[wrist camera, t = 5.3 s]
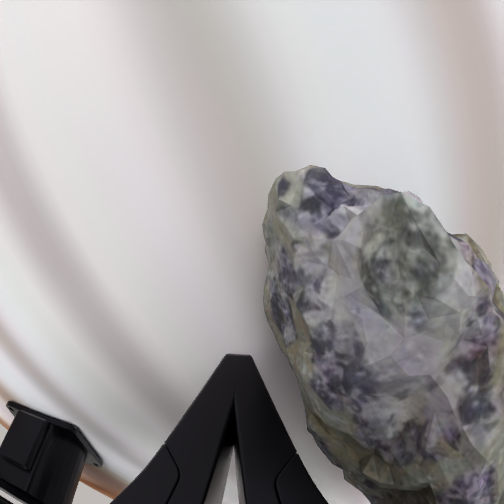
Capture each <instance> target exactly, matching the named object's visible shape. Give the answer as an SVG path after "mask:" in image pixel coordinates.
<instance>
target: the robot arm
mask: <svg viewBox="0 0 504 504" xmlns="http://www.w3.org/2000/svg"><path fill="white" fill-rule="evenodd" d="M6 406H7V408H8V409H9V410H10V412H11V413H12V414H13V415H14V417H15V418H14V420H13V422H12V424H11V426H10V428H9V430H8V432H7V434H6V436H5V438H4V440H3V442H2V444H1V446H0V490H2V491H4V492H5V493H7V494H8V495H10V496H12V497H13V498H15V499H16V500H18V501H20V502H21V503H23V504H72V502H73V498H74V495H75V492H76V488H77V485H78V482H79V479H80V476H81V473H82V470H83V467H84V464H85V463H87V464H90V465H93V466H96V467H102V465H103V462H102V461H101V460H100V458H99V457H98V456H97V455H96V454H95V452H94V451H93V450H92V448H91V447H90V446H89V445H88V443H87V442H86V441H85V439H84V438H83V437H82V435H81V434H80V433H79V431H78V430H77V429H76V428H75V427H74V426H72V425H70V424H67V423H64V422H61V421H58V420H56V419H53V418H50V417H47V416H45V415H42V414H39V413H37V412H34V411H32V410H29V409H27V408H25V407H22V406H20V405H17V404H15V403H13V402H11V401H8V403H7V404H6ZM233 447H234V452H235V464H236V475H237V486H238V497H239V504H328V502H327V501H326V500H325V498H324V497H323V496H322V494H321V493H320V491H319V490H318V488H317V487H316V485H315V484H314V482H313V481H312V479H311V477H310V475H309V474H308V472H307V470H306V468H305V466H304V465H303V463H302V461H301V459H300V457H299V455H298V454H297V453H296V452H297V451H296V449H295V447H294V445H293V443H292V441H291V439H290V437H289V435H288V433H287V431H286V429H285V427H284V424H283V422H282V420H281V418H280V416H279V414H278V412H277V410H276V408H275V406H274V404H273V401H272V399H271V397H270V395H269V393H268V391H267V389H266V386H265V384H264V382H263V380H262V378H261V376H260V373H259V371H258V369H257V367H256V365H255V363H254V360H253V358H252V357H251V356H250V355H241V354H226V355H225V356H224V358H223V359H222V361H221V362H220V364H219V365H218V367H217V368H216V369H215V371H214V372H213V374H212V375H211V377H210V378H209V380H208V381H207V383H206V384H205V386H204V387H203V388H202V390H201V391H200V393H199V394H198V396H197V397H196V399H195V400H194V401H193V403H192V404H191V406H190V407H189V409H188V410H187V411H186V413H185V414H184V416H183V417H182V419H181V420H180V421H179V423H178V424H177V426H176V427H175V428H174V430H173V431H172V433H171V434H170V435H169V437H168V438H167V440H166V441H165V444H163V445H162V446H161V448H160V449H159V451H158V452H157V453H156V455H155V456H154V457H153V458H152V460H151V461H150V462H149V464H148V465H147V466H146V467H145V469H144V470H143V471H142V472H141V473H140V474H139V475H138V476H137V477H136V478H135V479H134V480H133V481H132V483H130V484H129V485H128V486H127V487H126V488H125V489H124V490H123V491H122V492H121V493H120V494H119V495H118V496H117V497H116V498H115V499H114V500H113V501H112V502H111V503H110V504H222V499H223V494H224V490H225V485H226V480H227V476H228V471H229V466H230V461H231V456H232V452H233ZM0 504H13V503H11V502H10V501H8V500H7V499H5V498H3V497H2V496H0Z"/></svg>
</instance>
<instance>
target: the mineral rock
mask: <svg viewBox="0 0 504 504" xmlns="http://www.w3.org/2000/svg"><path fill="white" fill-rule="evenodd" d="M262 226H263V232H264V237H265V241H266V247H265V252H266V255H267V258H268V261H269V271H268V275H267V278H266V282H265V287H264V299H263V301H264V308H265V313H266V316H267V320H268V322H269V324H270V326H271V329H272V331H273V333H274V335H275V337H276V339H277V341H278V344H279V346H280V348H281V350H282V352H283V353H284V354H285V356H286V357H287V358H288V360H289V363H290V365H291V367H292V369H293V370H294V372H295V374H296V377H297V379H298V383H299V387H300V391H301V395H302V398H303V402H304V406H305V411H306V420H307V430H308V431H309V432H310V433H311V434H312V435H313V437H314V439H315V441H316V443H317V445H318V446H319V448H320V449H321V450H322V452H323V453H324V454H325V455H326V456H327V458H328V459H329V460H330V461H331V463H332V464H334V465H336V466H337V467H339V468H341V469H343V473H344V479H345V480H346V481H347V482H349V483H350V484H352V485H353V486H354V487H356V488H357V489H358V490H360V491H361V492H362V493H363V494H364V495H365V496H366V498H367V499H368V500H369V501H370V503H371V504H504V293H503V292H502V291H501V289H500V288H499V280H498V278H497V277H496V275H495V274H494V272H493V271H492V268H491V264H490V262H489V260H488V259H487V257H486V255H485V254H484V252H483V250H482V249H481V248H480V247H479V245H477V244H476V243H475V242H474V241H473V240H472V239H471V238H470V237H469V236H468V235H467V234H455V235H452V234H450V233H448V232H446V231H445V229H444V228H443V226H442V225H441V223H440V222H439V220H438V219H437V218H436V216H435V214H434V212H433V211H432V210H431V208H430V207H428V206H426V205H424V204H423V203H422V201H421V199H420V198H419V197H417V196H416V195H414V194H413V193H411V192H410V191H408V192H404V193H402V192H398V191H395V190H392V189H384V188H381V187H378V186H366V185H353V184H349V183H346V182H342V181H339V180H337V179H335V178H333V177H332V176H331V175H330V173H329V172H328V171H327V170H326V169H325V168H322V167H317V166H312V165H310V166H307V167H305V168H303V169H300V170H298V171H296V172H284V173H283V174H282V175H280V176H279V177H278V178H276V179H275V182H274V184H273V186H272V188H271V191H270V193H269V196H268V209H267V212H266V215H265V218H264V221H263V224H262Z"/></svg>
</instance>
